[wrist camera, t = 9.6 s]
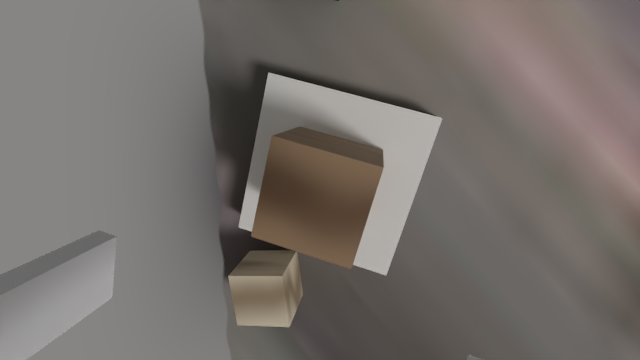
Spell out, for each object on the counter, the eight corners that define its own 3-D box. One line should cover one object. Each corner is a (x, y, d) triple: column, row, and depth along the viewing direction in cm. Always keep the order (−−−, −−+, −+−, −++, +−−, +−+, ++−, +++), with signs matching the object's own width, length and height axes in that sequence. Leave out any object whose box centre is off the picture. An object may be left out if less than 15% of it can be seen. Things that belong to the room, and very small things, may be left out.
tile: (385, 261, 30) (386, 275, 28) (249, 217, 32) (238, 227, 29) (436, 116, 26) (442, 118, 24) (278, 74, 28) (268, 72, 25)
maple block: (302, 294, 33) (289, 327, 28) (257, 293, 34) (237, 325, 29) (297, 249, 32) (282, 276, 27) (250, 250, 33) (228, 275, 28)
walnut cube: (358, 227, 27) (351, 269, 21) (281, 203, 28) (250, 236, 21) (383, 149, 25) (383, 167, 19) (299, 126, 26) (271, 135, 19)
